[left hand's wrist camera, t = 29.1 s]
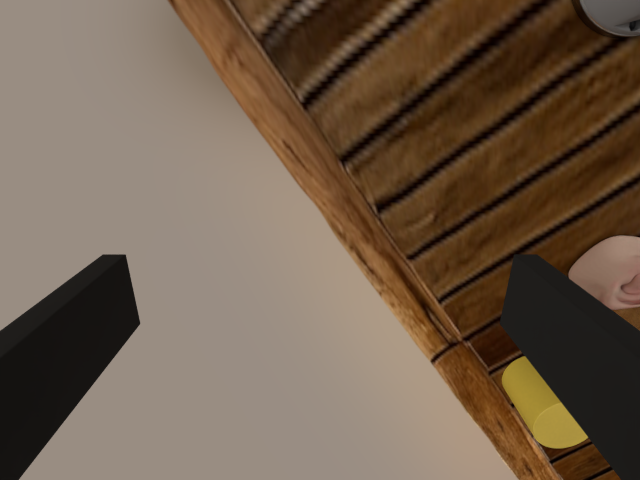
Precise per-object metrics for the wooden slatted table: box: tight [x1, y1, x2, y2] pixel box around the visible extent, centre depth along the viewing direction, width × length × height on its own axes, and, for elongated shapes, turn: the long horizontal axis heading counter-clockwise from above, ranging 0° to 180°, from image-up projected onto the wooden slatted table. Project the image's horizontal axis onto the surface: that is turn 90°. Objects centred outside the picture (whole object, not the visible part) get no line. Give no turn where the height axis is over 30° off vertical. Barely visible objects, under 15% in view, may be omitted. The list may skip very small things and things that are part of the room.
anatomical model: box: [569, 236, 640, 310], centre depth 52 cm, size 13×4×12 cm
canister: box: [502, 356, 588, 448], centre depth 57 cm, size 9×9×10 cm
